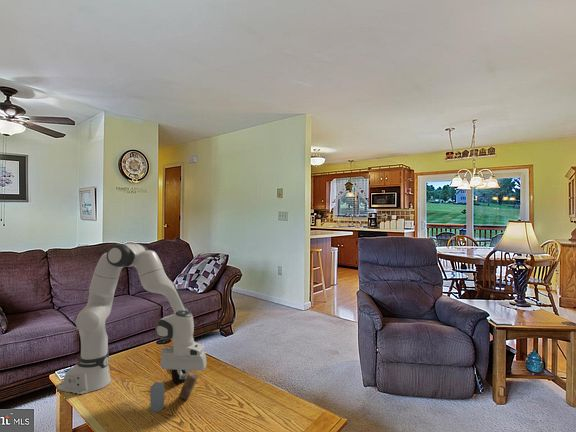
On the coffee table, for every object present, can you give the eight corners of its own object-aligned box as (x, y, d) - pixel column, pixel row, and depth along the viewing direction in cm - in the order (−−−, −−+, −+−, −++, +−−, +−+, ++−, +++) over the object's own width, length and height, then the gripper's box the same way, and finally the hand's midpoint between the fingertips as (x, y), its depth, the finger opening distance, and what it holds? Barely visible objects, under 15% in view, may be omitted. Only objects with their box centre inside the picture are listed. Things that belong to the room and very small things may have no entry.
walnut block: (178, 396, 143) (187, 375, 143) (182, 391, 147) (190, 371, 146) (186, 400, 143) (195, 379, 142) (190, 395, 147) (198, 375, 146)
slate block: (150, 410, 135) (150, 387, 135) (155, 405, 139) (155, 382, 139) (159, 411, 134) (159, 387, 134) (164, 405, 138) (164, 382, 138)
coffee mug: (182, 386, 154) (182, 365, 154) (166, 384, 156) (166, 363, 156) (194, 374, 165) (194, 354, 165) (179, 372, 167) (179, 353, 167)
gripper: (157, 349, 142) (157, 381, 143) (202, 351, 141) (202, 383, 141) (164, 344, 149) (164, 373, 149) (207, 345, 147) (207, 376, 147)
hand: (183, 378), depth 145 cm, fingers closed
